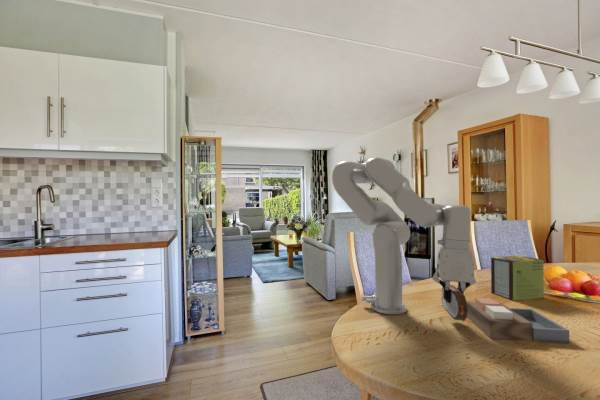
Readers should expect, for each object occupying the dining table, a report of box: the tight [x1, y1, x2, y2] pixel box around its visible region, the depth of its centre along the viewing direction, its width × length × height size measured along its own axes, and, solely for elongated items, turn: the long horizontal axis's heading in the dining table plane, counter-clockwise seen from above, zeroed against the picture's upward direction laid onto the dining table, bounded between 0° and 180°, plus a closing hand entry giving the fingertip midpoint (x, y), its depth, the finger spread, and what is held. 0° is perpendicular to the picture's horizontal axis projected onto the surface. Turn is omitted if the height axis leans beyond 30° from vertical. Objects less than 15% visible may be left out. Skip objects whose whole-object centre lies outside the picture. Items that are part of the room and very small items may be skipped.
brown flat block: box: [466, 301, 533, 342], centre depth 91 cm, size 11×16×5 cm
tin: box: [441, 284, 468, 322], centre depth 93 cm, size 15×3×8 cm, turn 172°
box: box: [508, 307, 570, 344], centre depth 89 cm, size 9×16×4 cm, turn 172°
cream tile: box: [486, 306, 513, 320], centre depth 87 cm, size 5×5×2 cm
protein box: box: [490, 255, 545, 302], centre depth 121 cm, size 10×15×16 cm
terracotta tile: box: [474, 297, 500, 310], centre depth 94 cm, size 5×5×2 cm
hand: (453, 301), depth 93 cm, fingers closed on tin, 2 cm apart
